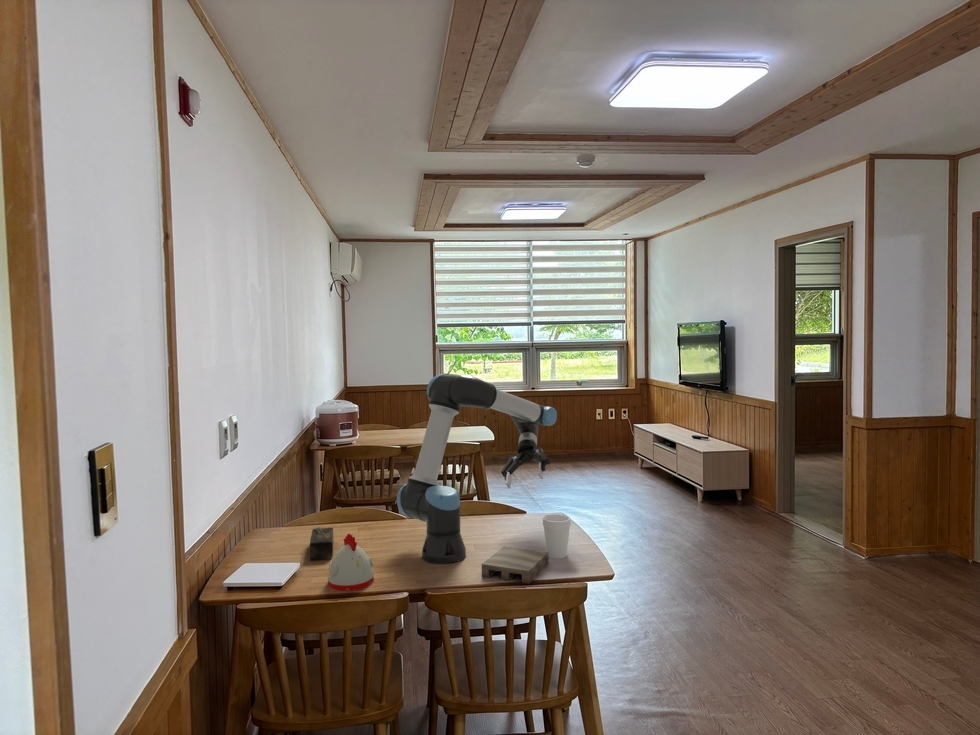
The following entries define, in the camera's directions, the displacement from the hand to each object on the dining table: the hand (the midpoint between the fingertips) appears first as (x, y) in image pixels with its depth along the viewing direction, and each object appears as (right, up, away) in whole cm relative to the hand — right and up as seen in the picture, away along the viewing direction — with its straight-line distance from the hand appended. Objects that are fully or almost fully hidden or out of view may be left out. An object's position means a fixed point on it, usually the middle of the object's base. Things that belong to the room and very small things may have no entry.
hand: (523, 481), depth 240 cm
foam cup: (+10, -21, -24) cm, 33 cm away
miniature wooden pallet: (-5, -22, -37) cm, 43 cm away
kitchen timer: (-56, -24, -44) cm, 75 cm away
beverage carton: (-73, -23, -15) cm, 78 cm away
